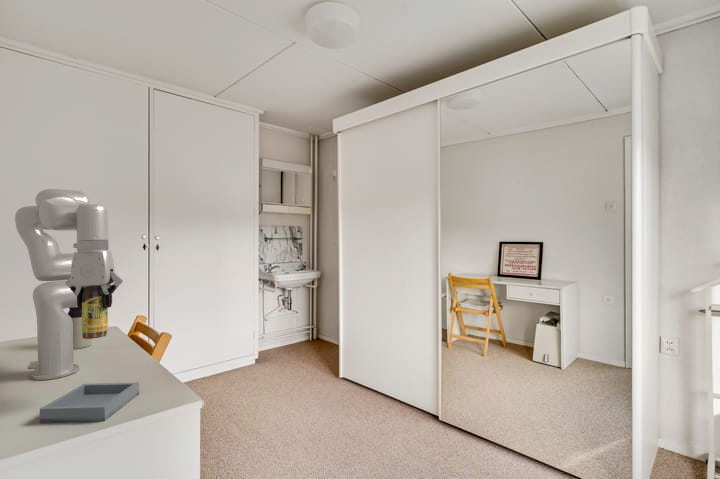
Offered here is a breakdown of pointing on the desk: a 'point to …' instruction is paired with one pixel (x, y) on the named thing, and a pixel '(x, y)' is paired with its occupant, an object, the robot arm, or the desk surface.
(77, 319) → the travel mug
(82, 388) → the tray
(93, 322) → the sauce bottle
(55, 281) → the robot arm
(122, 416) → the desk surface
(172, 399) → the desk surface
